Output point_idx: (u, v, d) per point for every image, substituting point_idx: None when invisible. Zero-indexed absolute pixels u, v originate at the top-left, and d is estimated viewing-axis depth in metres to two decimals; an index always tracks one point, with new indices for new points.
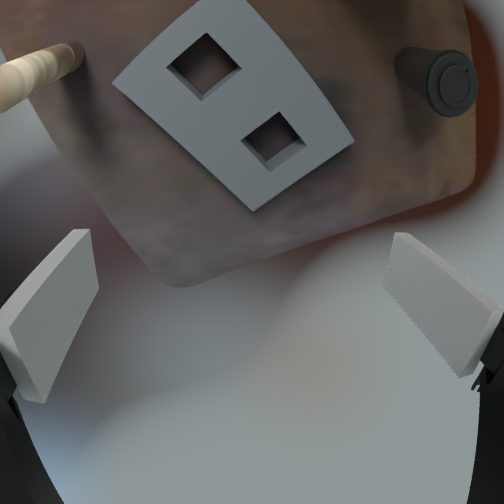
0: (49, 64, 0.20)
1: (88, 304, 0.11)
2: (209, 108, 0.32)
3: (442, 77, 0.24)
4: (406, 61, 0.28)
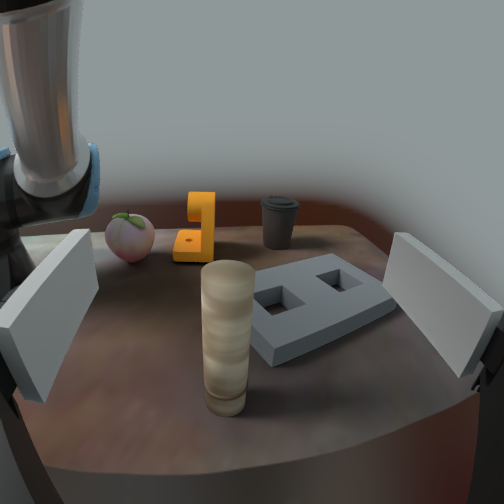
0: None
1: (88, 304, 0.11)
2: (312, 301, 0.42)
3: (277, 202, 0.61)
4: (273, 235, 0.63)
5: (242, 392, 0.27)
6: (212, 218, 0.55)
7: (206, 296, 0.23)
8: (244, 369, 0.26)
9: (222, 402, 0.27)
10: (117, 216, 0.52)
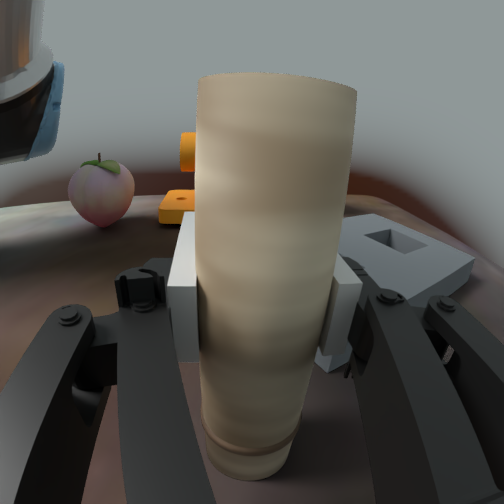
0: None
1: None
2: (373, 264, 0.26)
3: None
4: None
5: (293, 434, 0.11)
6: None
7: (212, 136, 0.07)
8: (306, 382, 0.10)
9: (246, 459, 0.11)
10: (85, 163, 0.36)
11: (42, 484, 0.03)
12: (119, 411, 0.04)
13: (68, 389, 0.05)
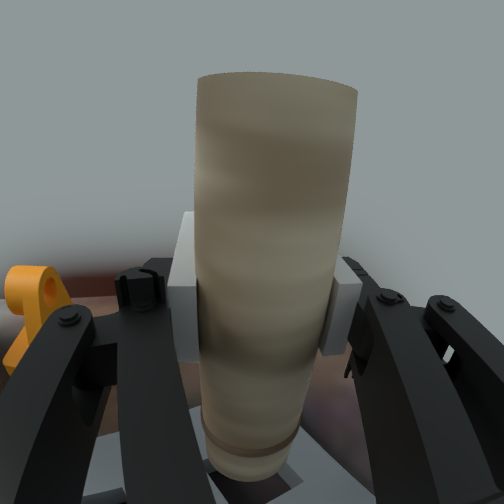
0: None
1: None
2: None
3: None
4: None
5: (293, 435, 0.11)
6: (38, 318, 0.25)
7: (212, 136, 0.06)
8: (306, 383, 0.10)
9: (246, 460, 0.11)
10: None
11: (42, 484, 0.03)
12: (119, 411, 0.04)
13: (68, 388, 0.05)
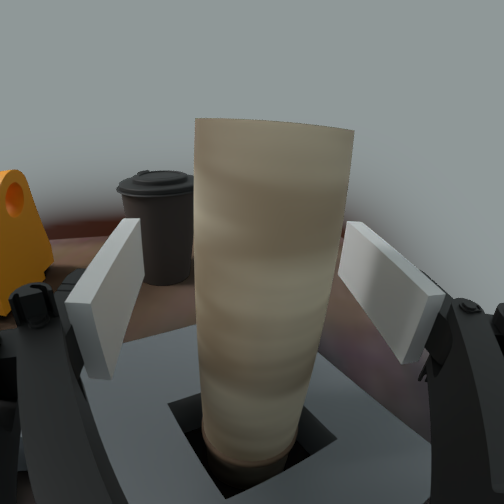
0: None
1: (138, 289, 0.13)
2: None
3: (142, 180, 0.25)
4: (143, 255, 0.27)
5: (289, 448, 0.11)
6: None
7: (209, 181, 0.07)
8: (301, 403, 0.10)
9: (245, 470, 0.11)
10: None
11: None
12: (22, 430, 0.04)
13: None
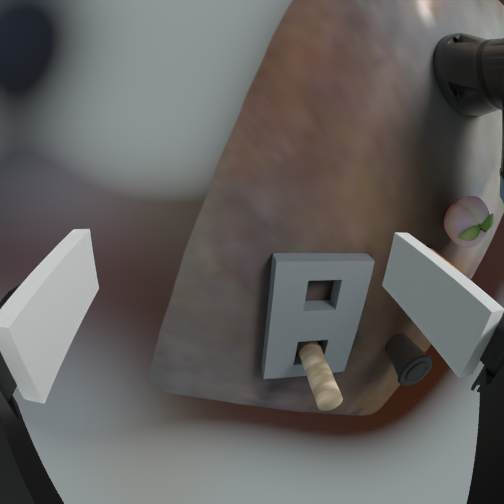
0: None
1: (88, 304, 0.11)
2: (302, 317, 0.50)
3: (415, 367, 0.51)
4: (399, 344, 0.57)
5: (299, 356, 0.54)
6: None
7: (327, 388, 0.43)
8: (304, 368, 0.51)
9: (301, 345, 0.54)
10: (487, 218, 0.41)
11: None
12: None
13: None
